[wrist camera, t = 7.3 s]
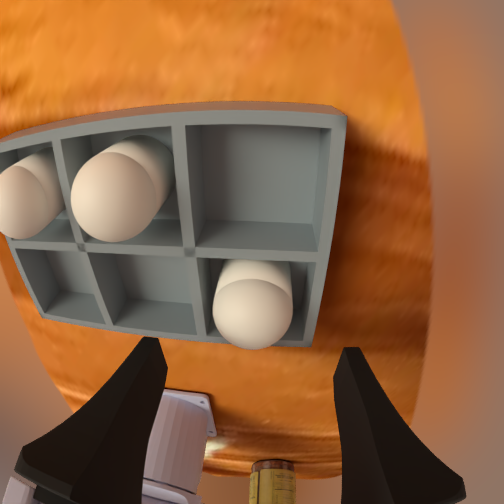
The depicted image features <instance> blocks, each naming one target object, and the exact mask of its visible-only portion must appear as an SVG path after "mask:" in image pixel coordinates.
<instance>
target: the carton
mask: <svg viewBox="0 0 504 504" xmlns="http://www.w3.org/2000/svg"><path fill="white" fill-rule="evenodd" d="M346 124H347V116H346V115H345V114H343V113H342V112H340V111H339V110H337V109H336V108H334V107H333V106H328V105H317V104H304V103H288V102H259V101H225V102H196V103H180V104H167V105H156V106H146V107H138V108H130V109H122V110H115V111H109V112H102V113H96V114H91V115H85V116H80V117H75V118H70V119H65V120H61V121H56V122H52V123H48V124H44V125H40V126H36V127H32V128H28V129H24V130H21V131H17V132H14V133H12V134H10V135H8V136H6V137H4V138H1V139H0V174H1V173H2V172H3V171H4V170H6V169H7V168H9V167H10V166H12V165H14V164H15V163H17V162H19V161H21V160H22V159H24V158H26V157H28V156H30V155H31V154H33V153H35V152H37V151H39V150H41V149H43V148H45V147H53V151H54V156H55V161H56V166H57V171H58V176H59V181H60V185H61V189H62V194H63V198H64V202H65V206H66V209H65V210H63V211H62V212H61V213H60V214H59V215H58V216H57V217H56V218H54V219H53V220H52V221H51V222H50V223H49V224H48V225H47V226H46V227H45V228H44V229H43V230H41V231H40V232H39V233H38V234H36V235H34V236H32V237H30V238H26V239H14V238H11V237H8V236H6V235H5V237H6V240H7V242H8V245H9V248H10V250H11V253H12V255H13V258H14V260H15V262H16V265H17V267H18V269H19V272H20V274H21V276H22V278H23V281H24V283H25V285H26V287H27V289H28V291H29V293H30V295H31V297H32V299H33V301H34V303H35V305H36V307H37V309H38V311H39V313H40V315H41V317H42V318H45V319H50V320H54V321H59V322H64V323H70V324H75V325H80V326H86V327H92V328H97V329H103V330H110V331H116V332H123V333H130V334H137V335H145V336H153V337H161V338H170V339H179V340H189V341H200V342H212V343H225V344H231V343H230V342H228V341H227V340H226V339H225V338H224V337H223V336H222V335H221V333H220V332H219V331H218V329H217V327H216V325H215V322H214V318H213V302H214V297H215V293H216V289H217V284H218V280H219V276H220V272H221V267H222V263H223V261H224V259H248V260H273V261H288V262H289V265H290V269H291V284H292V302H293V315H292V320H291V323H290V325H289V328H288V330H287V331H286V333H285V334H284V335H283V336H282V338H280V339H279V340H278V341H277V342H276V343H274V344H272V345H270V346H287V347H311V345H312V341H313V336H314V332H315V327H316V323H317V318H318V313H319V308H320V303H321V298H322V293H323V288H324V283H325V277H326V272H327V266H328V260H329V255H330V249H331V243H332V237H333V230H334V224H335V217H336V210H337V203H338V196H339V188H340V180H341V172H342V164H343V155H344V145H345V135H346ZM132 135H147V136H151V137H153V138H155V139H157V140H159V141H160V142H161V143H163V144H164V145H165V146H166V147H167V148H168V150H169V151H170V152H171V154H172V156H173V158H174V166H175V177H176V184H175V187H174V189H173V191H172V193H171V194H170V195H169V197H168V198H167V199H166V201H165V202H164V204H163V205H162V206H161V208H160V209H159V211H158V212H157V213H156V215H155V216H154V218H153V219H152V221H151V222H150V223H149V225H148V226H147V227H146V228H145V229H144V230H143V231H142V232H140V233H139V234H138V235H136V236H135V237H133V238H130V239H128V240H125V241H120V242H105V241H101V240H98V239H96V238H94V237H92V236H91V235H89V234H88V233H86V232H85V231H84V230H83V229H82V228H81V226H80V225H79V224H78V222H77V220H76V219H75V216H74V214H73V211H72V206H71V190H72V185H73V182H74V179H75V177H76V175H77V173H78V172H79V170H80V169H81V168H82V166H83V165H84V164H85V163H86V162H87V161H89V160H90V159H91V158H92V157H94V156H96V155H97V154H99V153H100V152H102V151H104V150H105V149H107V148H109V147H110V146H112V145H114V144H115V143H117V142H119V141H120V140H122V139H124V138H126V137H129V136H132Z"/></svg>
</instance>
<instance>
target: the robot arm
mask: <svg viewBox="0 0 504 504" xmlns="http://www.w3.org/2000/svg"><path fill="white" fill-rule="evenodd" d="M167 370H168V367H167V364H166V361H165V358H164V355H163V352H162V349H161V346H160V342H159V339H158V338H153V337H145V336H144V337H143V338H142V339H141V340H140V342H139V343H138V344H137V345H136V347H135V348H134V349H133V351H132V352H131V353H130V354H129V356H128V357H127V358H126V359H125V361H124V362H123V363H122V364H121V366H120V367H119V368H118V369H117V370H116V372H115V373H114V374H113V375H112V376H111V378H110V379H109V380H108V381H107V382H106V383H105V384H104V385H103V386H102V387H101V388H100V390H99V391H98V392H97V393H96V394H95V395H94V396H93V397H92V398H91V399H90V400H89V401H88V402H87V403H86V404H84V405H83V406H82V407H81V408H80V409H79V410H78V411H76V412H75V413H74V414H73V415H72V416H70V417H69V418H68V419H67V420H65V421H64V422H63V423H61V424H60V425H58V426H57V427H56V428H54V429H53V430H51V431H50V432H48V433H47V434H45V435H43V436H42V437H40V438H38V439H36V440H34V441H33V442H31V443H29V444H27V445H25V446H23V448H22V450H21V452H20V455H19V458H18V460H17V463H16V466H15V469H14V470H15V472H16V473H18V474H20V475H21V476H23V477H24V478H26V479H28V480H30V481H31V482H33V483H35V484H36V485H37V487H36V489H34V488H32V487H31V486H29V485H27V484H25V483H24V482H22V481H20V480H18V479H17V478H15V477H13V476H11V477H10V480H9V483H8V486H7V489H6V493H5V496H4V499H3V502H2V504H204V503H201V498H202V497H201V496H199V495H196V492H197V486H198V484H199V482H200V479H201V474H202V468H203V461H204V455H205V448H206V442H207V436H210V437H216V436H217V431H216V427H215V423H214V419H213V414H212V410H211V406H210V401H209V397H208V396H207V395H205V394H199V393H191V392H183V391H175V390H168V389H164V387H165V382H166V376H167ZM333 382H334V401H335V408H336V415H337V421H338V428H339V435H340V441H341V450H342V497H341V504H455V503H457V502H460V501H462V500H464V499H465V498H466V491H465V485H464V482H463V478H462V477H460V476H459V475H458V474H456V473H455V472H454V471H453V470H451V469H450V468H449V467H448V466H446V465H445V464H444V463H443V462H442V461H441V460H440V459H438V458H437V457H436V456H435V455H434V454H433V453H432V452H431V451H430V450H429V449H428V448H427V447H426V446H425V445H424V444H423V443H422V442H421V441H420V440H419V438H418V437H417V436H416V435H415V434H414V433H413V432H412V430H411V429H410V428H409V426H408V425H407V424H406V423H405V421H404V420H403V419H402V417H401V416H400V415H399V413H398V412H397V410H396V409H395V407H394V406H393V405H392V403H391V402H390V400H389V398H388V397H387V395H386V394H385V392H384V390H383V389H382V387H381V386H380V384H379V382H378V381H377V379H376V377H375V375H374V373H373V372H372V370H371V368H370V366H369V364H368V363H367V361H366V359H365V357H364V355H363V353H362V351H361V349H360V348H359V347H344V348H343V351H342V354H341V357H340V360H339V363H338V365H337V368H336V371H335V374H334V376H333Z"/></svg>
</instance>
